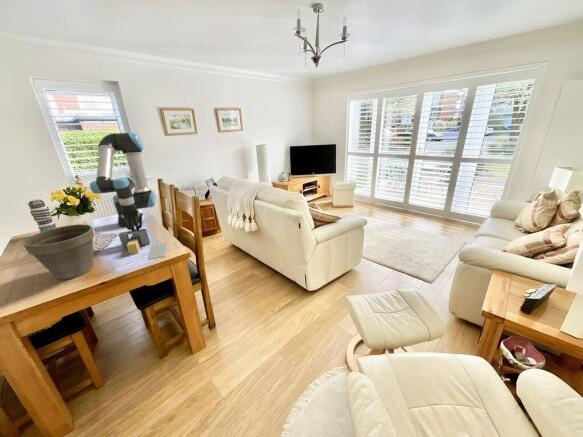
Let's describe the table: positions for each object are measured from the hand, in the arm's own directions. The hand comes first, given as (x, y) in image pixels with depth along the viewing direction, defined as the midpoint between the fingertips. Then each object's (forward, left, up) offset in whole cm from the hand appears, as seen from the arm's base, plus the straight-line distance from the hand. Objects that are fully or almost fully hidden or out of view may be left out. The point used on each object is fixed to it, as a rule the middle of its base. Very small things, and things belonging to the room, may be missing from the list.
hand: (138, 238), depth 152 cm
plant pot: (+25, -25, -2) cm, 35 cm away
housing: (+7, 0, -2) cm, 7 cm away
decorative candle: (-40, -61, -2) cm, 73 cm away
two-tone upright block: (+10, 0, -2) cm, 10 cm away
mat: (+20, +13, -2) cm, 24 cm away
